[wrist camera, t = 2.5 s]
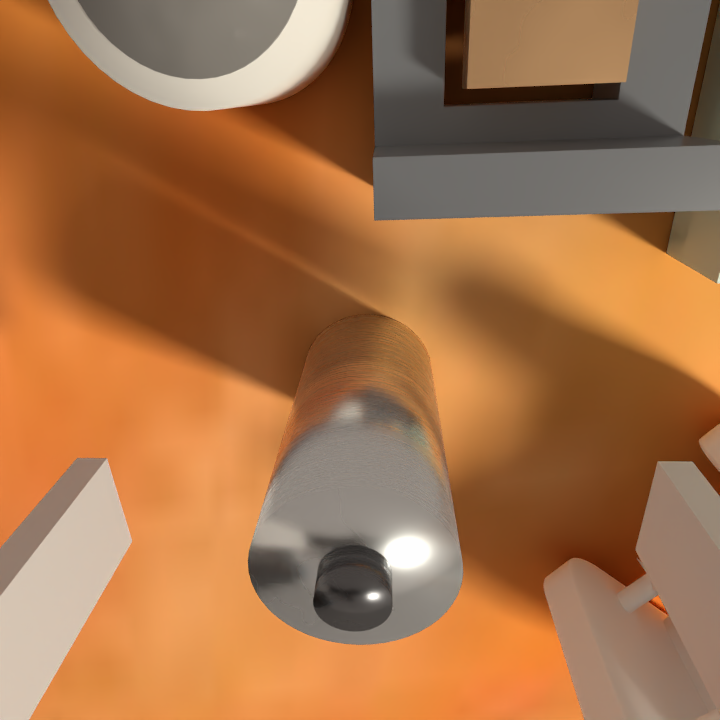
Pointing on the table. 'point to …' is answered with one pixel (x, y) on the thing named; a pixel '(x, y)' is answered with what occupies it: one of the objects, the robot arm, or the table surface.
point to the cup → (208, 46)
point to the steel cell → (360, 493)
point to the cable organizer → (625, 642)
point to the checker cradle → (539, 129)
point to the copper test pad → (546, 42)
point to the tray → (702, 228)
